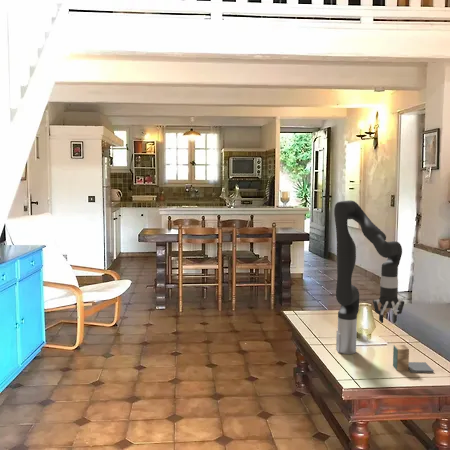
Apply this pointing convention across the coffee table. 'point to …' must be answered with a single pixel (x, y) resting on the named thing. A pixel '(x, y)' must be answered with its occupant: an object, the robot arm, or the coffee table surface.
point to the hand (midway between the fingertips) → (387, 322)
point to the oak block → (400, 357)
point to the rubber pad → (420, 367)
